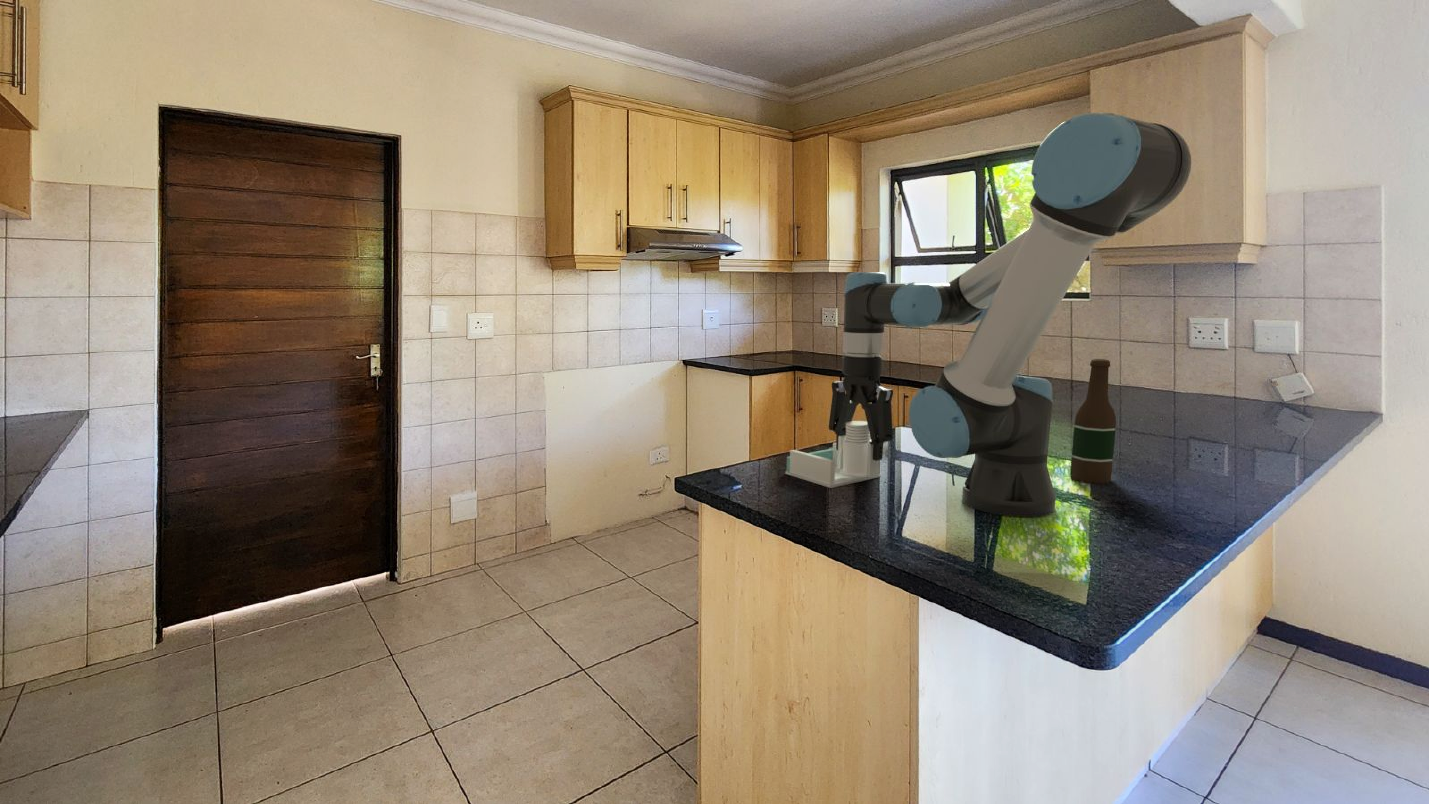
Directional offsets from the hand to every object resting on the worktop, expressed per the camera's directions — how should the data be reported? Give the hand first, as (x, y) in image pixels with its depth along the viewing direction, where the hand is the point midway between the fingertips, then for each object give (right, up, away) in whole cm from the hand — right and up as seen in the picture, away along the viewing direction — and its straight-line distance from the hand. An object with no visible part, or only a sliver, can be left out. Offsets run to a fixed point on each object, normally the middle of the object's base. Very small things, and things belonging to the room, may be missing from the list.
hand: (857, 471), depth 138 cm
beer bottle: (+47, -2, +3) cm, 47 cm away
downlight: (0, 0, 0) cm, 0 cm away
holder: (-4, -1, +6) cm, 7 cm away
